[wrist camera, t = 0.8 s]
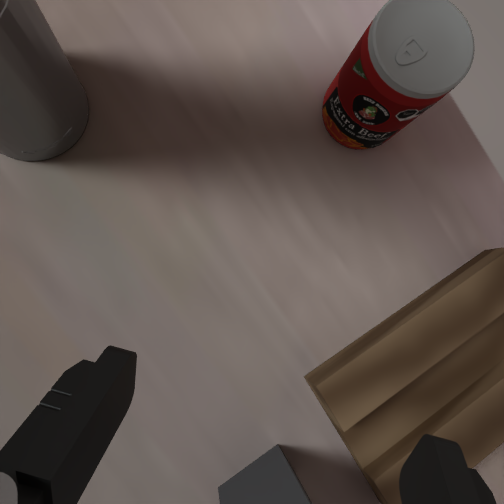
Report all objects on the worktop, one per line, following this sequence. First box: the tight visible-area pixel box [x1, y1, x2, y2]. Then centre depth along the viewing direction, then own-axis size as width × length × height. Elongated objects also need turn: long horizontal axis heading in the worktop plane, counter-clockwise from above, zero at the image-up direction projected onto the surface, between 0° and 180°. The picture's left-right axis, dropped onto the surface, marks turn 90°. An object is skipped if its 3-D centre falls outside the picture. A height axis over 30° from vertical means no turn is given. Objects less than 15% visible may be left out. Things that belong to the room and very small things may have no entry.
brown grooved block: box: [304, 248, 504, 504], centre depth 34 cm, size 13×22×4 cm, turn 122°
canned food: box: [322, 0, 474, 149], centre depth 32 cm, size 8×8×11 cm
